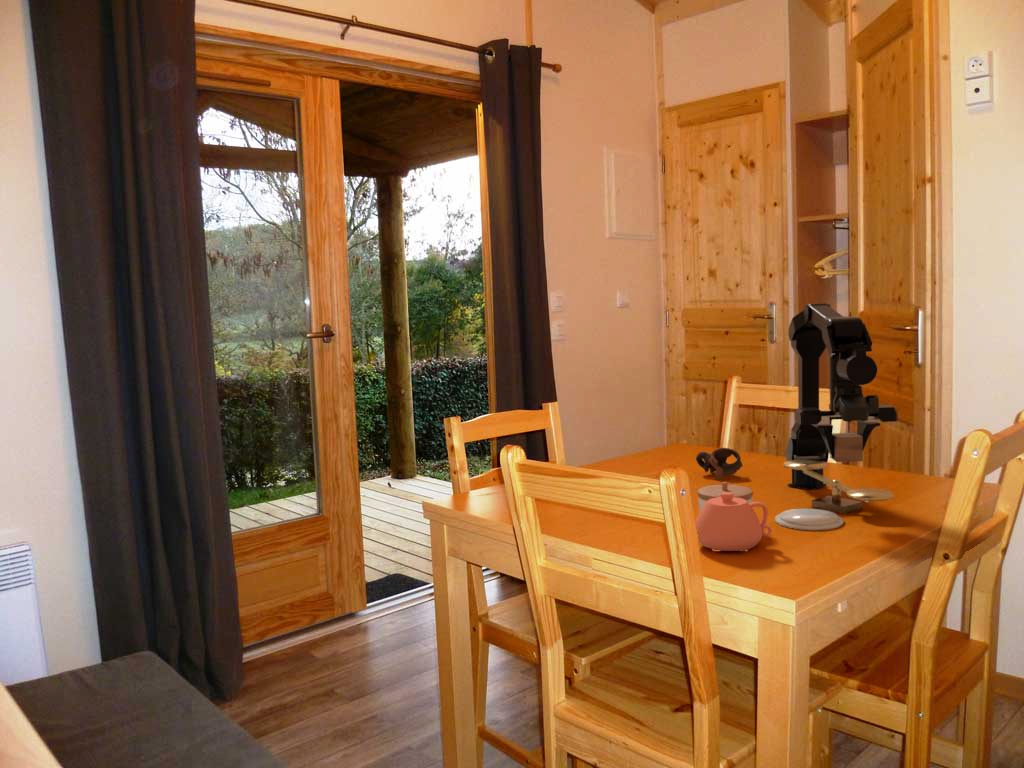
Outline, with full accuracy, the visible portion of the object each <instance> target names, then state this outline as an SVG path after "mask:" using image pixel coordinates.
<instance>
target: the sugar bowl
mask: <svg viewBox="0 0 1024 768" xmlns="http://www.w3.org/2000/svg"><path fill="white" fill-rule="evenodd" d="M720 496H721V497H717V498H712V499H709V500H708V501H707V502H706V503H705V505H704V506H703V508H702V510H701V511H700V510H699V512H698V513H699V514H698V515H697V518H696V519H695V520H696V521H695V524H694V526H695V525H696V529H697V534H698V539H699V541H698V542H699V543H700V544H701V545H702V546H703V547H704V548H707V549H710V550H712V549H714V550H722V551H721V552H723V551H724V552H732V551H733V552H734V551H735V552H737V551H738V552H740V551H739V550H742V551H745V550H749V549H752V548H754V547H756V546H757V544H758V543H759V542H760V541H761V539H762V537H767V536H769V535H771V534H772V532H773V531H772V527H771V526H770V525H768V524H766V523H767V520H768V516H769V515H768V514H769V511H768V507H767V506H766V505H765V504H764V503H763V502H760V501H752V503H750V504H749V503H748V502H747V501H746V500H745V499H742V498H737V497H733V496H734V493H731V492H723V493H720ZM755 507H760V508H762V511H763V512H762V517H761V521H760V519H759V516H758V515H757V513H756V512H755V510H754V508H755ZM765 529H767V531H765Z"/></svg>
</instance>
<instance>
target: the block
mask: <svg viewBox="0 0 1024 768" xmlns="http://www.w3.org/2000/svg"><path fill="white" fill-rule="evenodd" d="M832 435H833V444H834V457H833V458H832V457H831V456H830V455H829V458H831V459H832V460H834V461H835V462H836V463H845V462H846V463H848V462H850V463H851V462H864V450H863V436H861V435H859V434H857V432H838V433H833V432H832Z"/></svg>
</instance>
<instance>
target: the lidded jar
mask: <svg viewBox="0 0 1024 768" xmlns="http://www.w3.org/2000/svg"><path fill="white" fill-rule="evenodd" d="M723 492H731V493H734V496H733V497H737V498H742V499H745V500H746V501H747V502H748V503H749V504H750V503H752V502H753V496H754V495H753V494H754V493H753V490H752V489H751V488H749V487H746V486H743V485H737V484H736V485H735V484H728V482H727V481H722V482H721V484H712V485H706V486H703V487H700V488H699V489H698V490H697V499H698V500H697V501H698V509H699V512H700V511H701V510H702V508H703V506H704V505H705V503H706V502H707V501H708V500H709V499H712V498H717V497H721V496H720V493H723Z"/></svg>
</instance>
